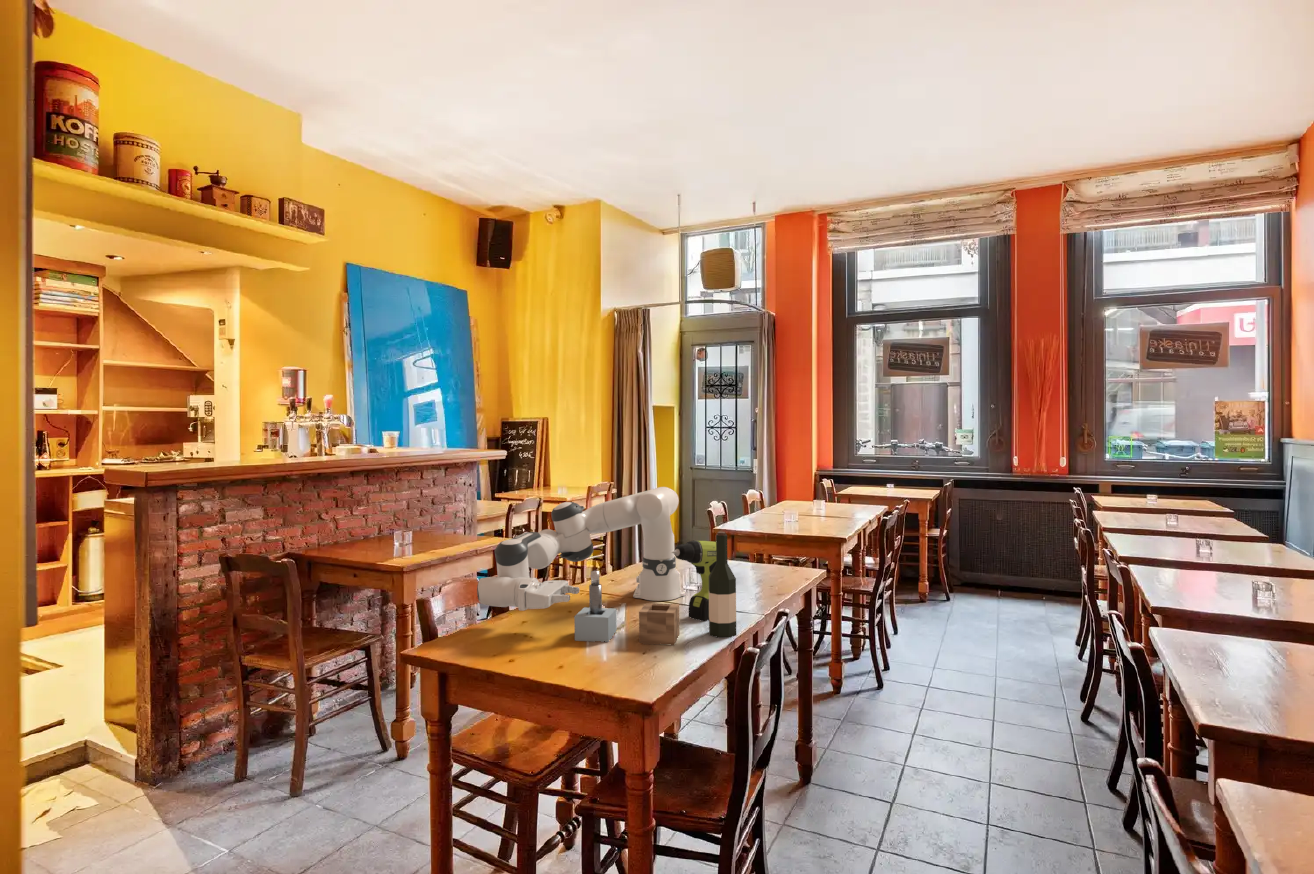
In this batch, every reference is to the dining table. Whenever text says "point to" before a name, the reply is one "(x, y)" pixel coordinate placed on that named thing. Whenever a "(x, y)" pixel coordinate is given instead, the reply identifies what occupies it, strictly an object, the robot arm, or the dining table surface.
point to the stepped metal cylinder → (595, 594)
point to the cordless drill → (704, 561)
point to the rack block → (659, 623)
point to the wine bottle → (722, 593)
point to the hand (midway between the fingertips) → (574, 594)
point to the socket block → (595, 625)
